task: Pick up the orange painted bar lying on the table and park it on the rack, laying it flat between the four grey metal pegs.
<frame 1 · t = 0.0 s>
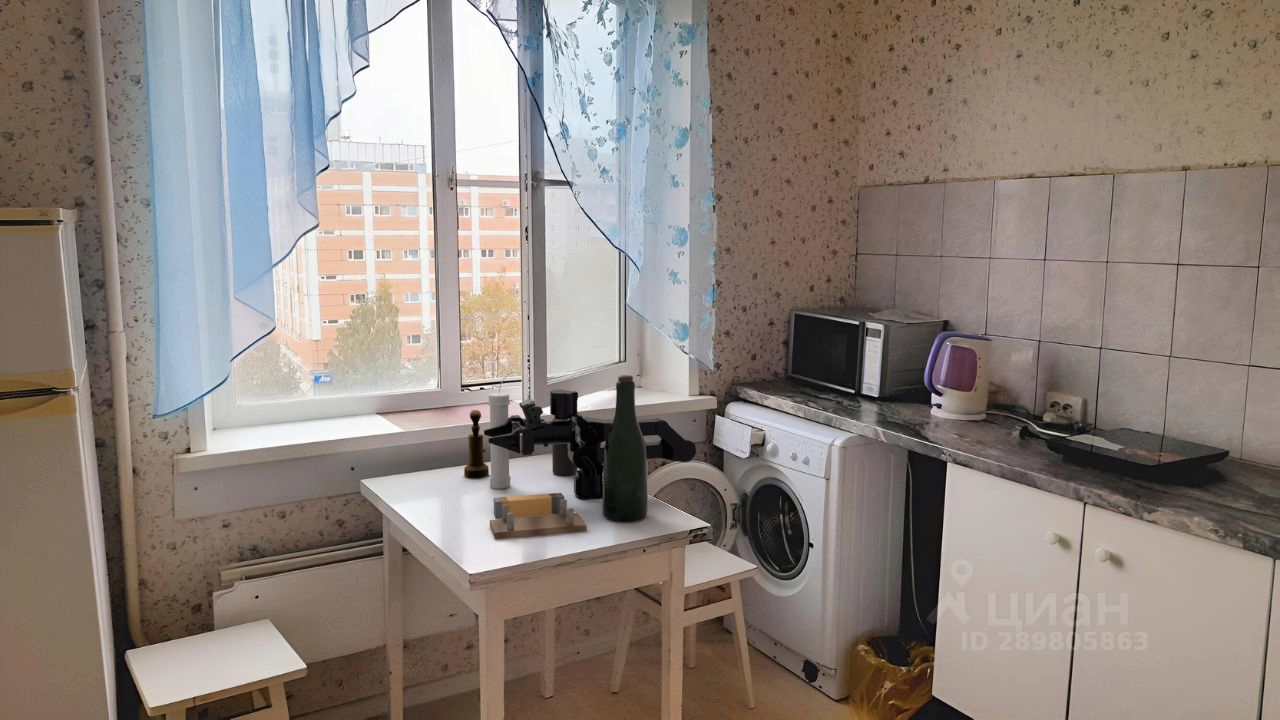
hand: (486, 436, 212), 17 cm above the table, tool horizontal, fingers open, 9 cm apart
bar: (529, 513, 206), on the table
rack: (537, 528, 195), on the table
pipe: (501, 487, 229), on the table
green wine bottle: (625, 517, 205), on the table
pepper mill: (476, 476, 240), on the table
vinegar: (564, 473, 243), on the table
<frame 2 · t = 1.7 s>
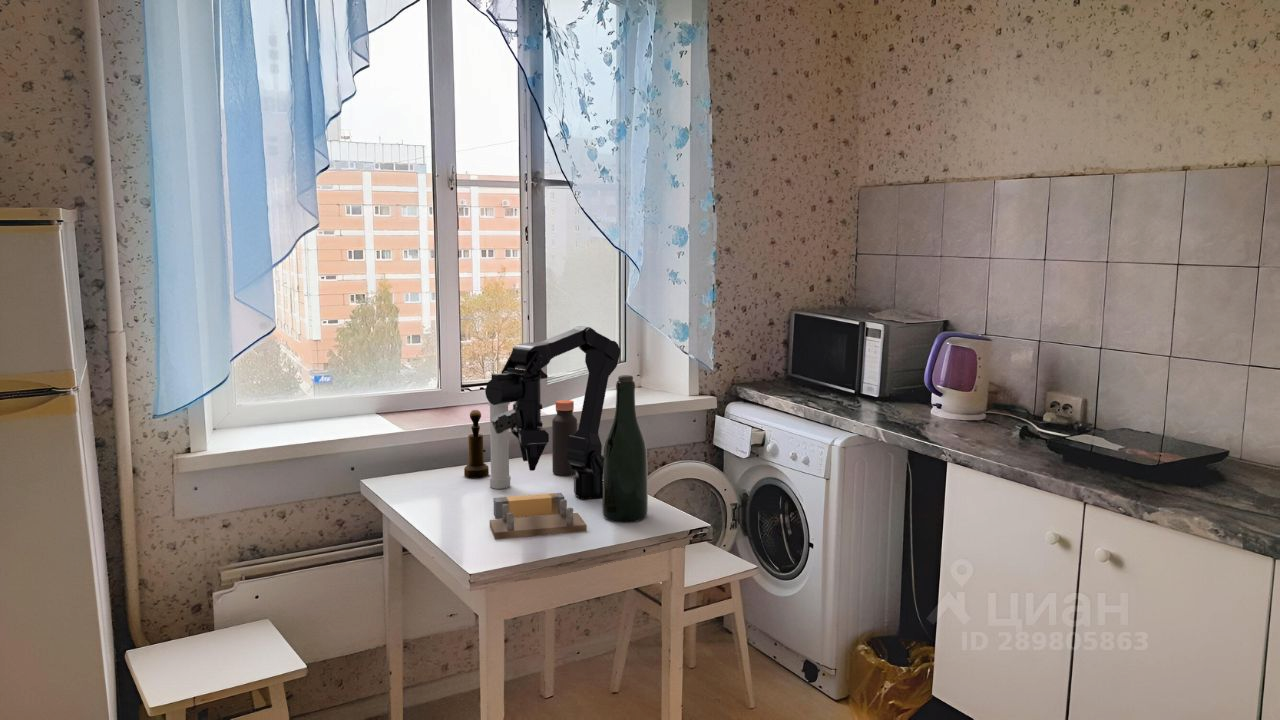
hand: (528, 465, 205), 11 cm above the table, tool pointing down, fingers open, 9 cm apart
nothing on the table moved.
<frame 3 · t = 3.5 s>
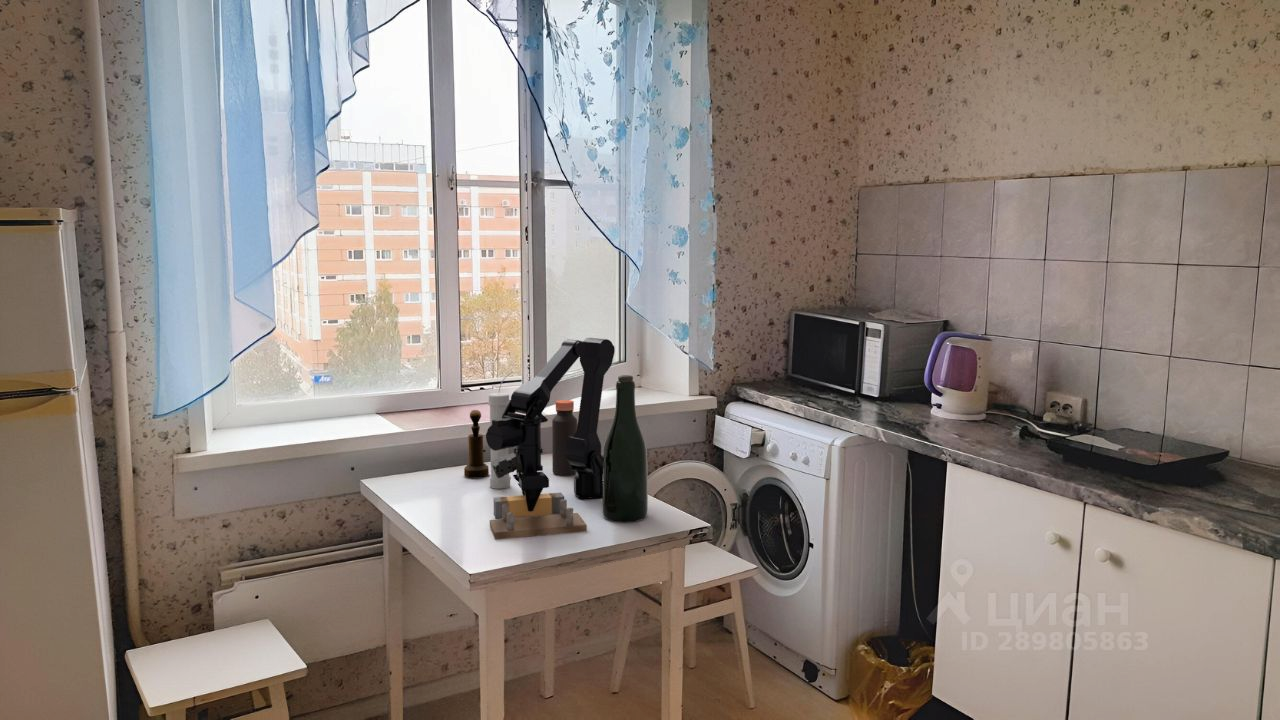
hand: (529, 508, 206), 1 cm above the table, tool pointing down, fingers closed on bar, 4 cm apart
bar: (529, 513, 206), on the table, touching gripper
everything else where it was.
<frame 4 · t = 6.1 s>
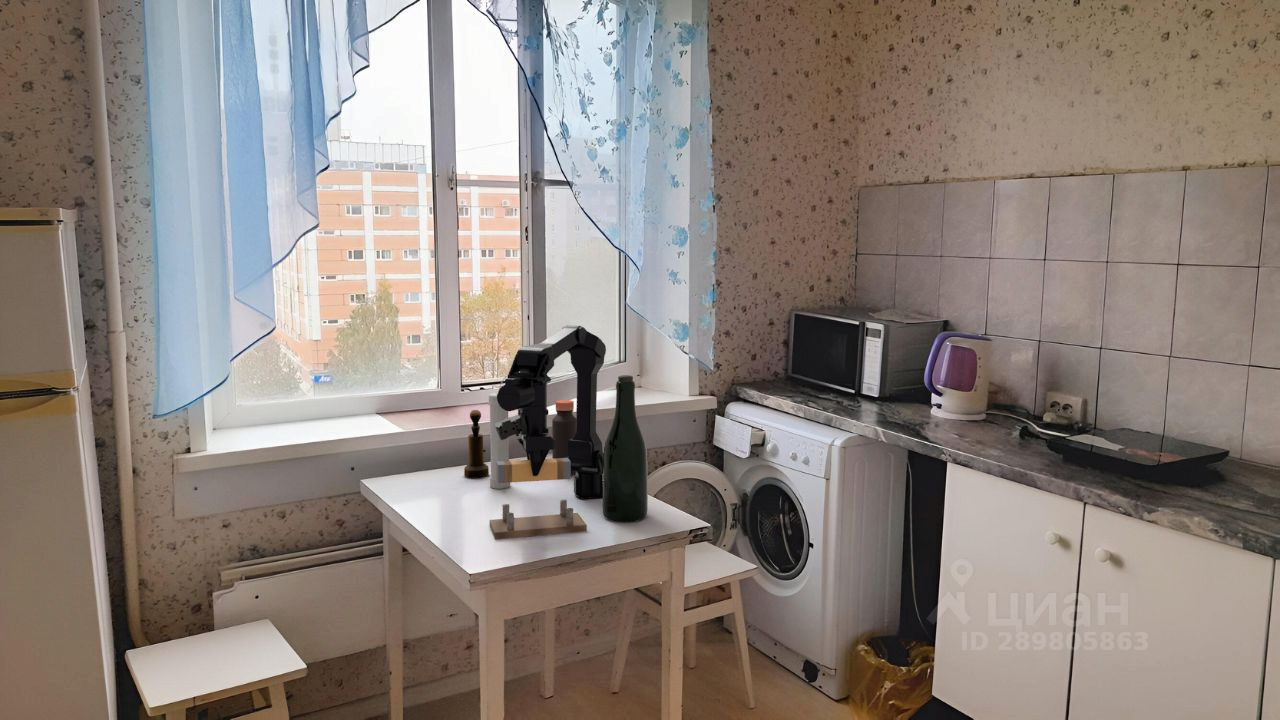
hand: (533, 473, 196), 12 cm above the table, tool pointing down, fingers closed on bar, 4 cm apart
bar: (533, 479, 197), point 11 cm above the table, touching gripper
everything else where it was.
when the fingers open (4 cm above the table, at t = 8.4 s): bar drops 1 cm, resting on rack.
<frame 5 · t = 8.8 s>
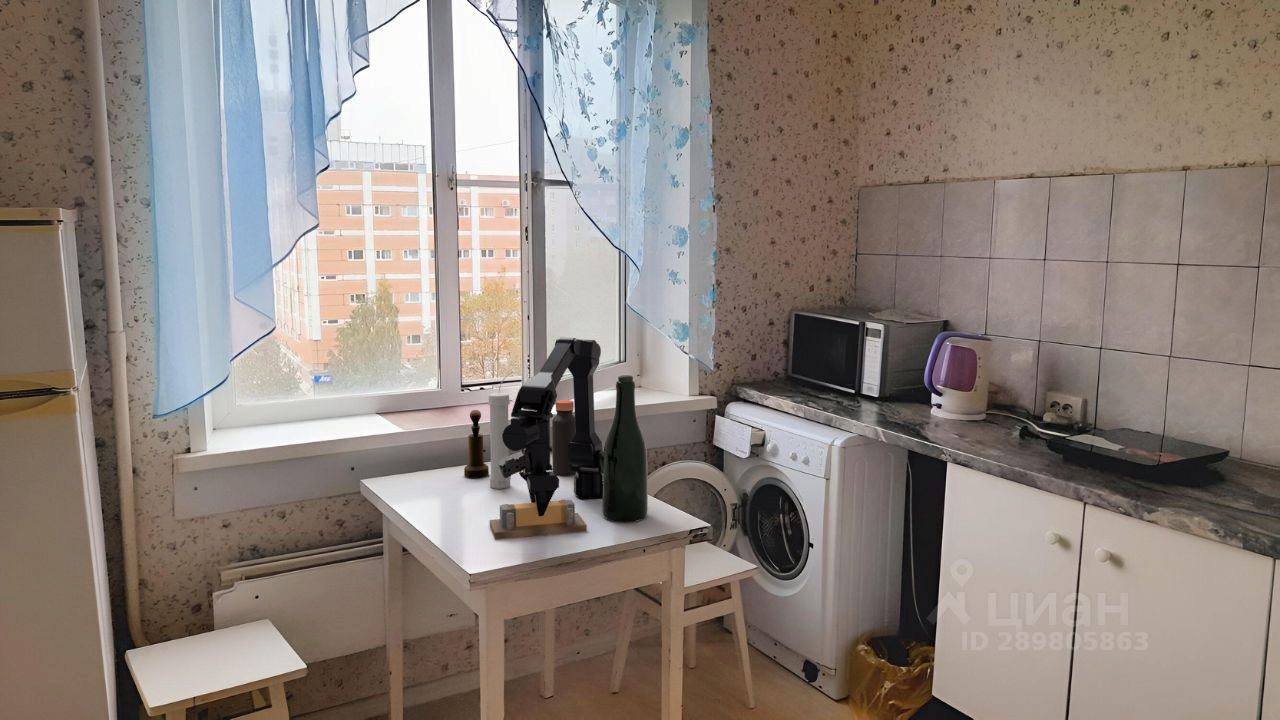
hand: (537, 510, 195), 4 cm above the table, tool pointing down, fingers open, 8 cm apart
bar: (537, 522, 195), point 1 cm above the table, touching rack
everything else where it was.
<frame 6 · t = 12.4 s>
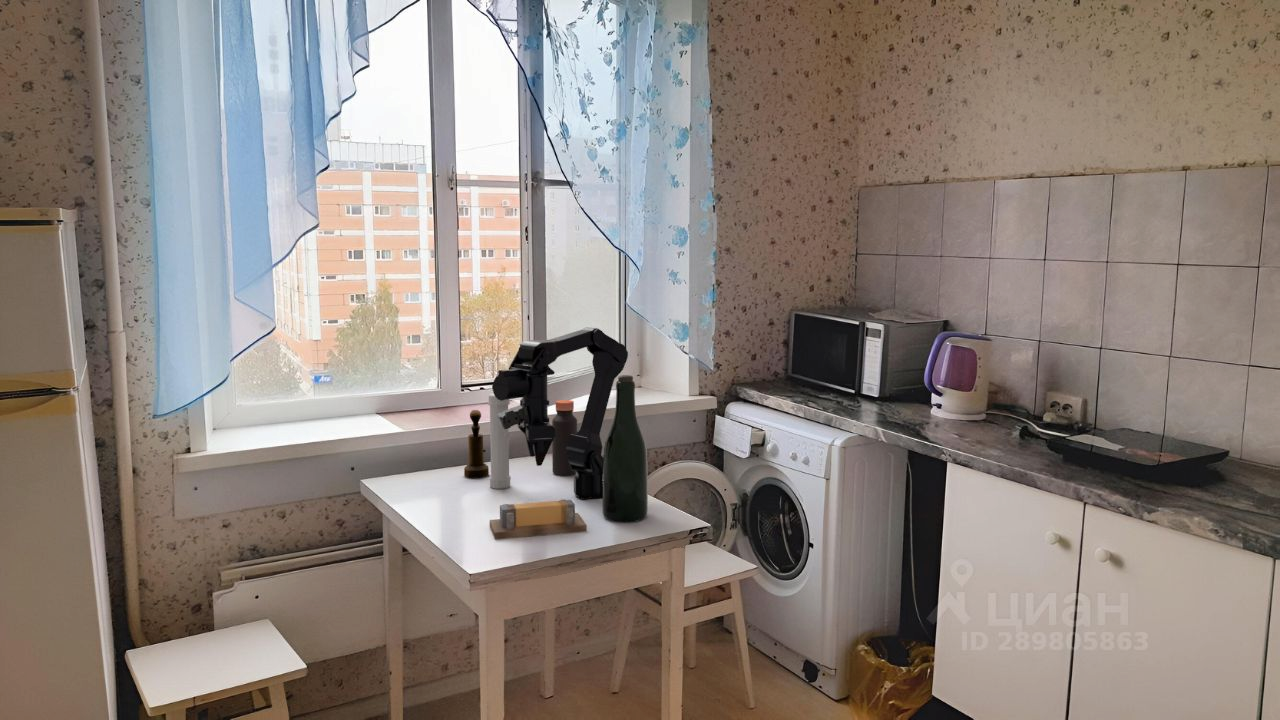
hand: (535, 460, 207), 12 cm above the table, tool pointing down, fingers open, 9 cm apart
nothing on the table moved.
at the end: bar 0.1 cm off-centre on the rack, point 1.5 cm above the rack's base; bar tilted 0°; the gripper is holding nothing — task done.
